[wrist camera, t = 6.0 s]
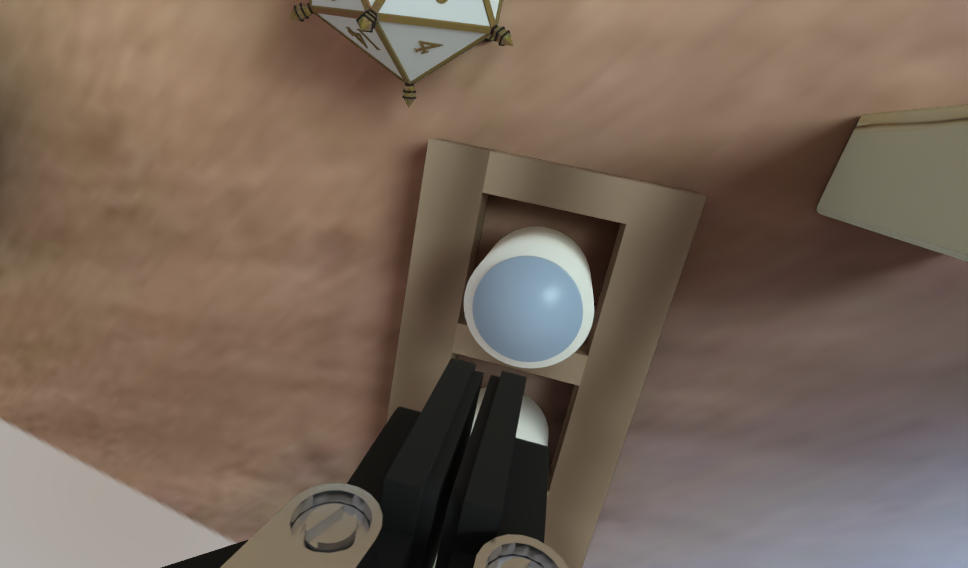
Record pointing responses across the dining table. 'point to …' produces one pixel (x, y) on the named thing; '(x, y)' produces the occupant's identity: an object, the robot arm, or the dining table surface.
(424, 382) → the rack with square compartments
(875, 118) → the skincare box
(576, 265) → the small jar
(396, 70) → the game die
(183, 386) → the dining table surface
